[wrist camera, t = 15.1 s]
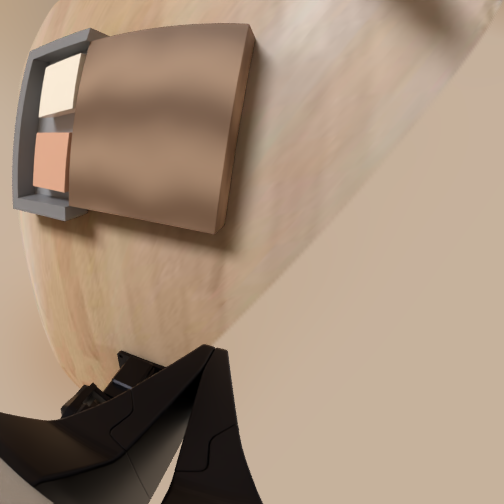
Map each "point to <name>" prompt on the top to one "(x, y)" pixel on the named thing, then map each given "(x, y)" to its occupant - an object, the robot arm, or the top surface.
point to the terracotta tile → (52, 160)
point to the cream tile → (61, 87)
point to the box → (43, 128)
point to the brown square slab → (161, 123)
